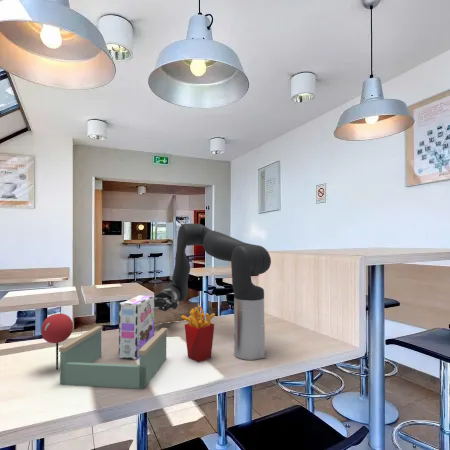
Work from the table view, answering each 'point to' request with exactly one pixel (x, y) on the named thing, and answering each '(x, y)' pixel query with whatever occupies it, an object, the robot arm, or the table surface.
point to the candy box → (135, 325)
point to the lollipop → (56, 330)
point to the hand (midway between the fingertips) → (153, 308)
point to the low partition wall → (109, 373)
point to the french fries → (199, 335)
